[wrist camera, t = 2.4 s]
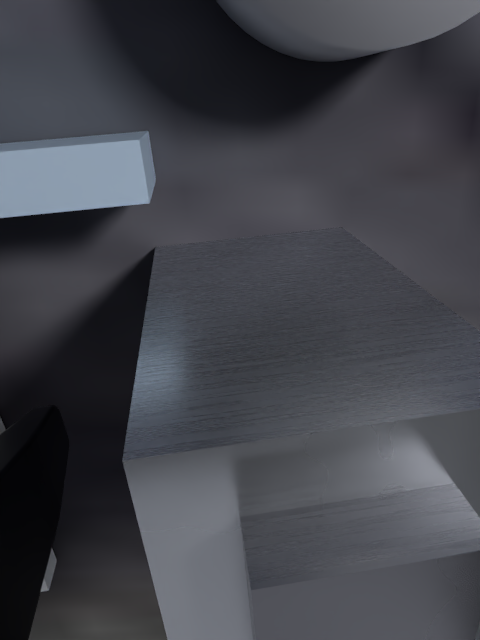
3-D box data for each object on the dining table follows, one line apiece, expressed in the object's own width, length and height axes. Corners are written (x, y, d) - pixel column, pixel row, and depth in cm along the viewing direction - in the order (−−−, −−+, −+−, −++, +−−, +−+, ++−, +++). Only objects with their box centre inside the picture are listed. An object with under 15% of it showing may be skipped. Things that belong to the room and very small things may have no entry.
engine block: (336, 395, 13) (518, 730, 6) (183, 416, 13) (190, 797, 6) (341, 226, 11) (636, 450, 4) (155, 247, 10) (111, 534, 3)
